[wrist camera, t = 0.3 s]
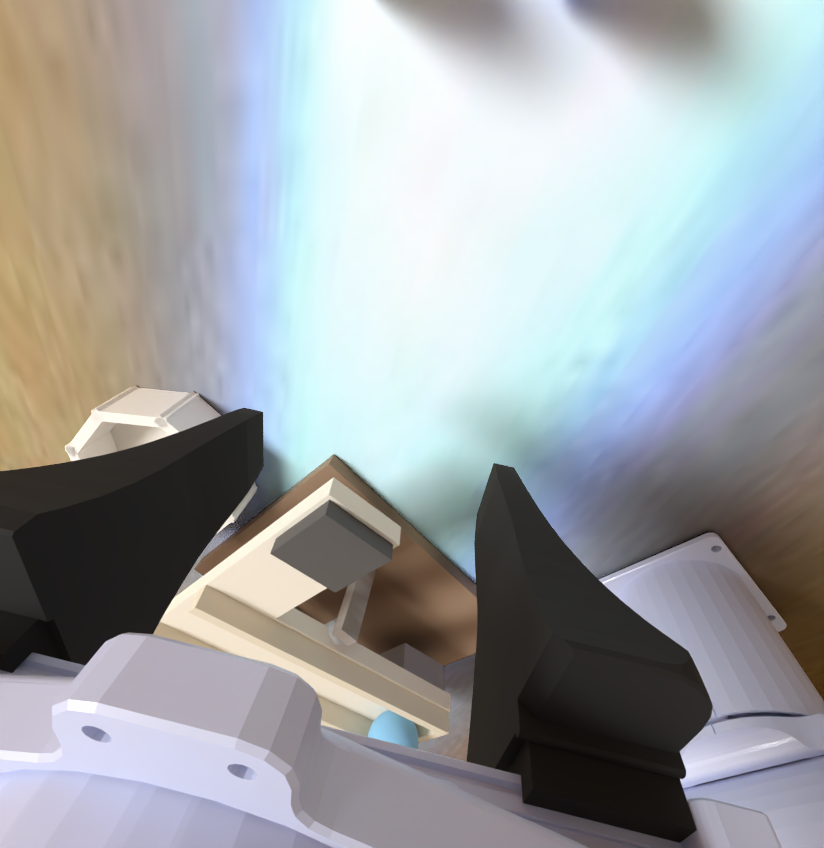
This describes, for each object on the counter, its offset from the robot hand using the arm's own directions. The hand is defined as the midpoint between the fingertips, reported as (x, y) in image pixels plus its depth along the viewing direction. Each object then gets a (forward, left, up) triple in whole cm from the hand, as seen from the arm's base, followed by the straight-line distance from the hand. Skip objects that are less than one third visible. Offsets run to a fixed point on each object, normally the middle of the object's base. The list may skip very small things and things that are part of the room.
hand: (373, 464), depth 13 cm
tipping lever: (-9, +11, -6) cm, 16 cm away
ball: (-17, +16, -3) cm, 23 cm away
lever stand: (-10, +15, -10) cm, 21 cm away
